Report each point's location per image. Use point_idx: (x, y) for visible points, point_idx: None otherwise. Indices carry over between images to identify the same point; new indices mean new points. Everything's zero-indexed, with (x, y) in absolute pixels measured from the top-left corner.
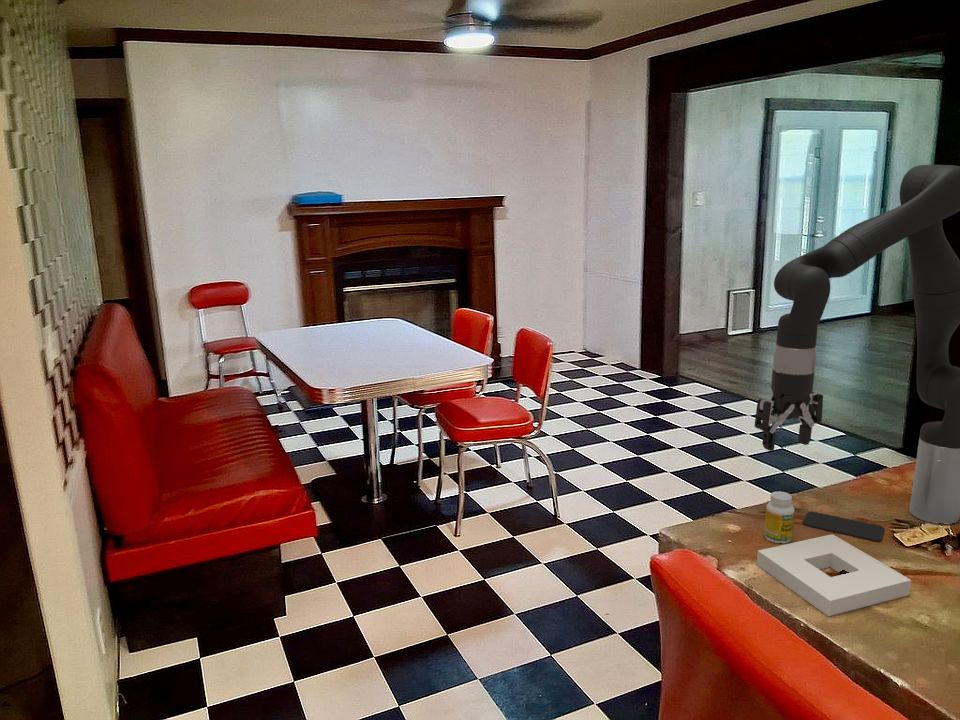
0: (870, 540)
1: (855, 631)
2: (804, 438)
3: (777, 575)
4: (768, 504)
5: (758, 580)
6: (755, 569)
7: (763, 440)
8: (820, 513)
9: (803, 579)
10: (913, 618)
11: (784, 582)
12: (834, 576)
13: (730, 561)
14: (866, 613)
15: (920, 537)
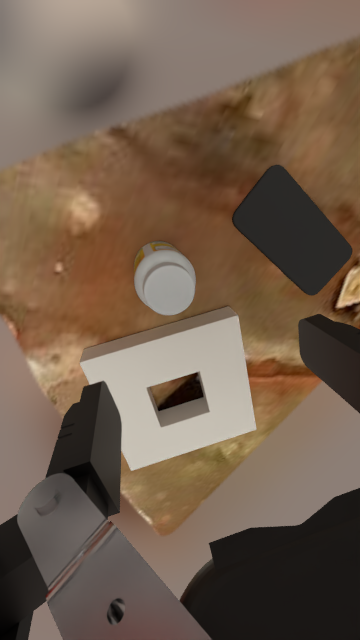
0: (301, 289)
1: (147, 470)
2: (320, 365)
3: None
4: (139, 275)
5: (71, 388)
6: (77, 361)
7: (63, 437)
8: (291, 179)
9: None
10: (220, 449)
11: None
12: (166, 425)
13: (40, 338)
14: None
15: None
